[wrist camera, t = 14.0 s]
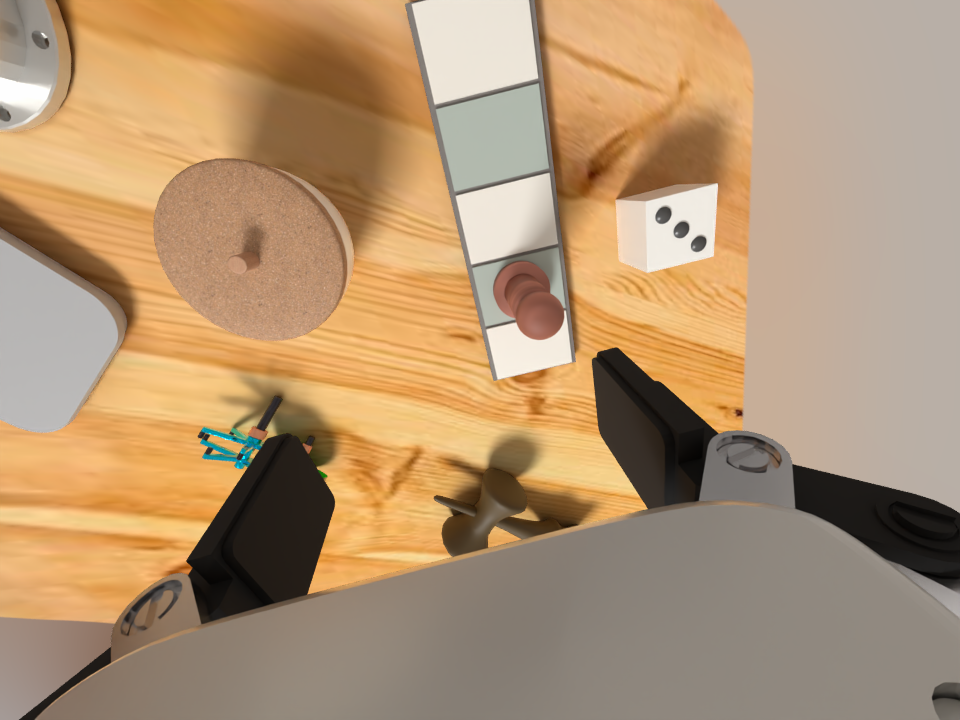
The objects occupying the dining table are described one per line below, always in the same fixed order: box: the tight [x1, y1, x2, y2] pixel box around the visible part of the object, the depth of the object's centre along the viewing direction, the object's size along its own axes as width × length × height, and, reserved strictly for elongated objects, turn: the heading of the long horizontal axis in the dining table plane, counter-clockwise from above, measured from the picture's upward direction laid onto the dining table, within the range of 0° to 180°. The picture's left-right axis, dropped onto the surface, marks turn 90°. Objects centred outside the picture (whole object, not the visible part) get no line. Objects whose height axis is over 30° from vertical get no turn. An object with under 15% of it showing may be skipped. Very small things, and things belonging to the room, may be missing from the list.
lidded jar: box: [154, 159, 354, 341], centre depth 24 cm, size 11×11×9 cm
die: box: [616, 183, 718, 273], centre depth 28 cm, size 5×5×5 cm
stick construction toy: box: [198, 396, 327, 481], centre depth 34 cm, size 12×7×8 cm
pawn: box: [493, 261, 564, 340], centre depth 26 cm, size 5×5×9 cm
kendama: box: [434, 468, 578, 557], centre depth 41 cm, size 6×10×20 cm
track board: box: [405, 0, 576, 381], centre depth 28 cm, size 28×8×1 cm, turn 13°
